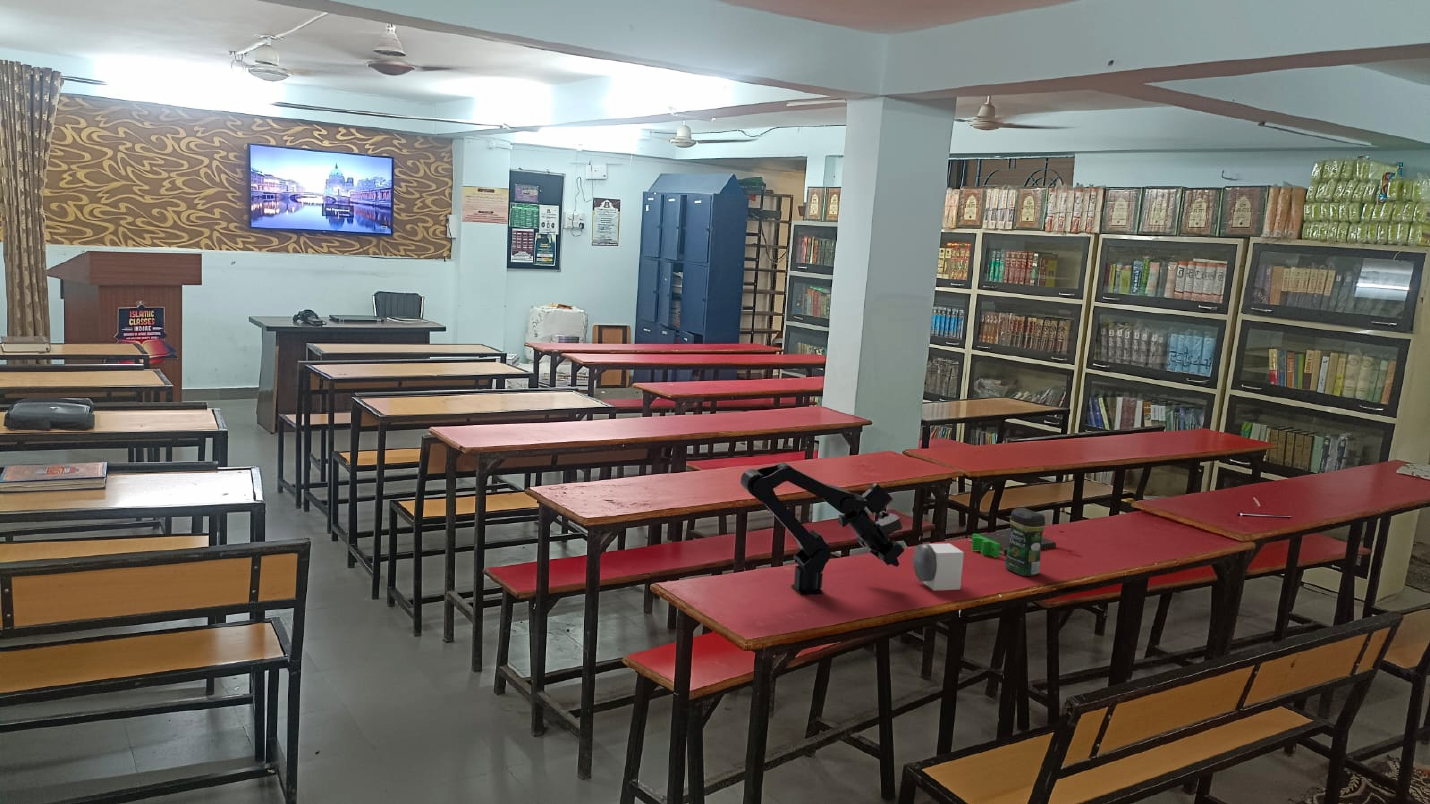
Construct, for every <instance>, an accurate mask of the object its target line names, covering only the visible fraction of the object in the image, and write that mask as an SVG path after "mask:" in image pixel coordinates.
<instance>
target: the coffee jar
mask: <svg viewBox="0 0 1430 804" xmlns="http://www.w3.org/2000/svg"><path fill="white" fill-rule="evenodd" d="M1009 523H1010V530H1011V533H1010V540H1009V546H1008V551H1007V555H1005V556H1006V558H1005V565H1004V566H1005V568H1006V570H1009V571H1011V572H1013V573H1015V574H1017V575H1019V576H1023V577H1024V576H1025V577H1026V576H1028V577H1035V576H1037V575H1038V574H1040V573H1041V572H1040V571H1041V555H1042V554H1041V553H1042V552H1041V551H1042V550H1041V540H1042V537H1043V532H1044V530H1045V528H1046V518H1045V515H1044V514H1043V513H1040V512H1039V513H1038V512H1036V511H1033V510H1031V509H1028V508H1026V507H1018V508H1013V510H1012V511H1011V515H1010V519H1009Z"/></svg>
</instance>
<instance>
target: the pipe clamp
mask: <svg viewBox="0 0 1430 804" xmlns="http://www.w3.org/2000/svg"><path fill="white" fill-rule="evenodd" d="M972 535H973V536H972V543H971V546H972V547H971V546H970V547H971V548H970V550H979V551H981V552H980V555H981V554H982V555H985V556H990V555H991V557H992V556H993V558H995V559H998V558H997V557H999V556H1000V554H999V549H1000V544H999V543H996V542H994V541H992V540H989V539H987V538H985V537H982V536H980V535H978V533H972ZM982 555H981V556H982ZM999 558H1000V557H999Z"/></svg>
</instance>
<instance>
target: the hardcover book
mask: <svg viewBox="0 0 1430 804" xmlns="http://www.w3.org/2000/svg"><path fill="white" fill-rule="evenodd" d="M1010 533H1011V529H1008V530H999V531H994V532H987V533H979V534H978V533H977V534H978V535H980V536H982V537H985V538H987V539H989V540H992V541H994V542H996V543H999V544H1000V549H999V553H1002V554H1004V555H1005V556H1007V555H1006V554H1007V551H1008V546H1009V540H1010ZM997 534H999V535H997ZM972 536H973V534H972V535H967V536H966V537H967V538H968V539H972ZM968 539H967V541H968V542H969V541H972V540H968ZM1053 547H1057V543H1056V541H1053V540H1051V539H1048V538H1045V537H1043V536H1042V540H1041V551H1043V550H1042V549H1044V550H1046V549H1045V548H1051V549H1054V548H1053ZM1002 554H1001V555H1002ZM1004 555H1003V556H1004Z"/></svg>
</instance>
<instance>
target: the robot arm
mask: <svg viewBox="0 0 1430 804" xmlns="http://www.w3.org/2000/svg"><path fill="white" fill-rule="evenodd" d="M786 482H787V483H790V484H791V485H792V484H793V485H795V486H797V487H798V488H800V489H802V490H803V491H804V490H805V491H807V492H808V493H811V494H813V495H815V496H816V497H819V498H820V499H822V500H823V501H824V502H826V503H827V504H828V505H829V506H831V507H832V508H834V509H835V510H836V511H838V512H839V513H840V514H839V515H838V519H837V520H838V521H837V524H838V525H840V526H841V527H842V528H845V527H846V526H847V525H848V526H849V527H850V528H851V529H852V530H853V531H854V532H855V533H854V534H855V535H856V536H857V537H856V540H857V542H858V543H859V545H860V546H862V547H863V548H866V547H867V548H868V550H870V551H869V553H871V554H872V555H874V556H875V557H876V558H877V559H878V560H879V561H881V562H882V563H883V564H885V565H886V566H890V565H892V566H894V567H896V568H898V567H899V566H900V562H899V560H898V558H899V556H901V555H902V554H903V553H904V552H905V548H904V547H903V546H902V545H901V543H899V542H897V540H890V538H891V536H890V535H891V534H894V533H895V532H897V531H901V530H903V523H902V522H901V518H900V517H899V516H898V515H897V514H895V513H891V512H890V513H888V512H887V511H885V509H886V508H887V506H889V505H890V504H891V503H892V502H893V501H894V499H893V497H892V496H891V495H890V494H889V493H888V492H887V491H886V490H884V488H882V487H881V486H880V485H879V483H877V482H873V484H871V486H870V487H869V488H868V489H867V490H866V491H865V492H864V493H863V494H862V495H860V494H858V493H854V492H849V491H848V490H847V489H845V488H842V487H840V486H837V485H833V484H829V483H828V484H827V483H824V482H822V481H820V480H818V479H816V478H814V477H812V476H810V475H808V474H806V473H804V472H803V471H801V470H798V469H796V468H794V467H792V466H791V465H789V464H788V463H786V462H781V463H777V464H774V465H769V466H764V467H763V466H762V467H760V468H756V469H754V468H750V469H747V470H746V471H744V472H743V473H742V474H741V477H740V484H741V486H742V488H743V489H745V490H746V491H747V492H748V493H749V494H750V495H751V496H753V497H754V498H755V499H757V500H758V501H759V502H760V503H762V504H763V505H764V506H766V508H767V509H768V510H769V511H770V512H771V513H772V514H773V515H774V516H775V518H776V519H777V520H778V521H779V522H780V523H781V524H782V525H783V526H784V527H785V529H786V530H787V532H789V533H790V534H791V536H793V537H794V539H795V540H796V541H795V542H796V543H797V545H798V547H799V550H797V552H796V553H794V555H793V560H794V563H795V564H797V565H796V566H795V567H794V581H793V582H794V583H793V584H791V585H790V586H791V588H793V590H795V591H796V592H797V593H798V594H799V595H812V594H823V593H824V592H823V590H822V587H823V586H822V585H823V571H824V569H825V566H826V564H827V563H828V562H829V561H830V559H831V555H832V552H831V551H832V550H831V549H830V548H829V547H830V546H831V545H830V544H829V543H828V542H827V541H826V540H824V538H823V537H822V535H821V534H820V533H819V532H817V531H816V530H815V529H814V528H812V529H811V530H810V531H808V529H807V528H806V527H804V525H803V524H802V523H801V522H800V521H799V519H797V518H796V516H795V515H794V514H793V513H792V512H791V510H789V508H787V506H786V505H785V504H784V503H783V502H782V501H781V499H780V498H779V497H778V496H777V494H776V492H775V490H774V489H776V488H777V487H778V486H780V485H781V484H784V483H786ZM865 509H866V510H865ZM874 514H875V515H877V516H878V518H877V520H876V521H875V520H874V519H873V518H872V517H871V516H870V515H874Z"/></svg>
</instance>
